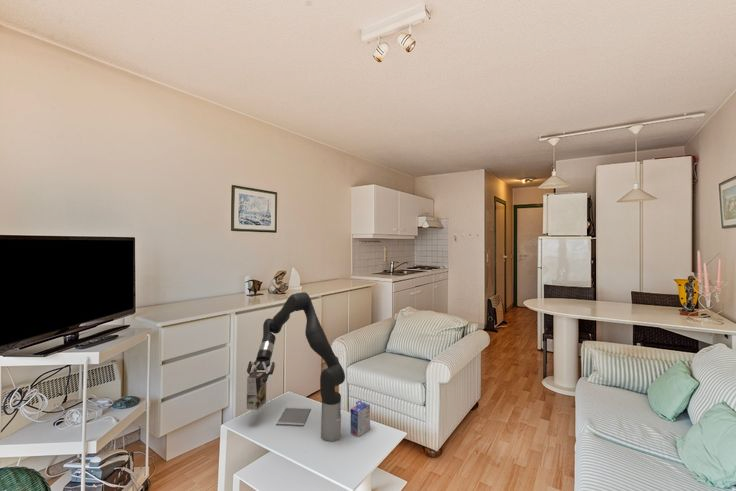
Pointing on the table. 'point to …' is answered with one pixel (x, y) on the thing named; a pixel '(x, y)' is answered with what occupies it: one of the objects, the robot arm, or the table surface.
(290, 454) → the table surface
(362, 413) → the ink cartridge box
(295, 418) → the mat
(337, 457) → the table surface
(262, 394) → the coffee box
